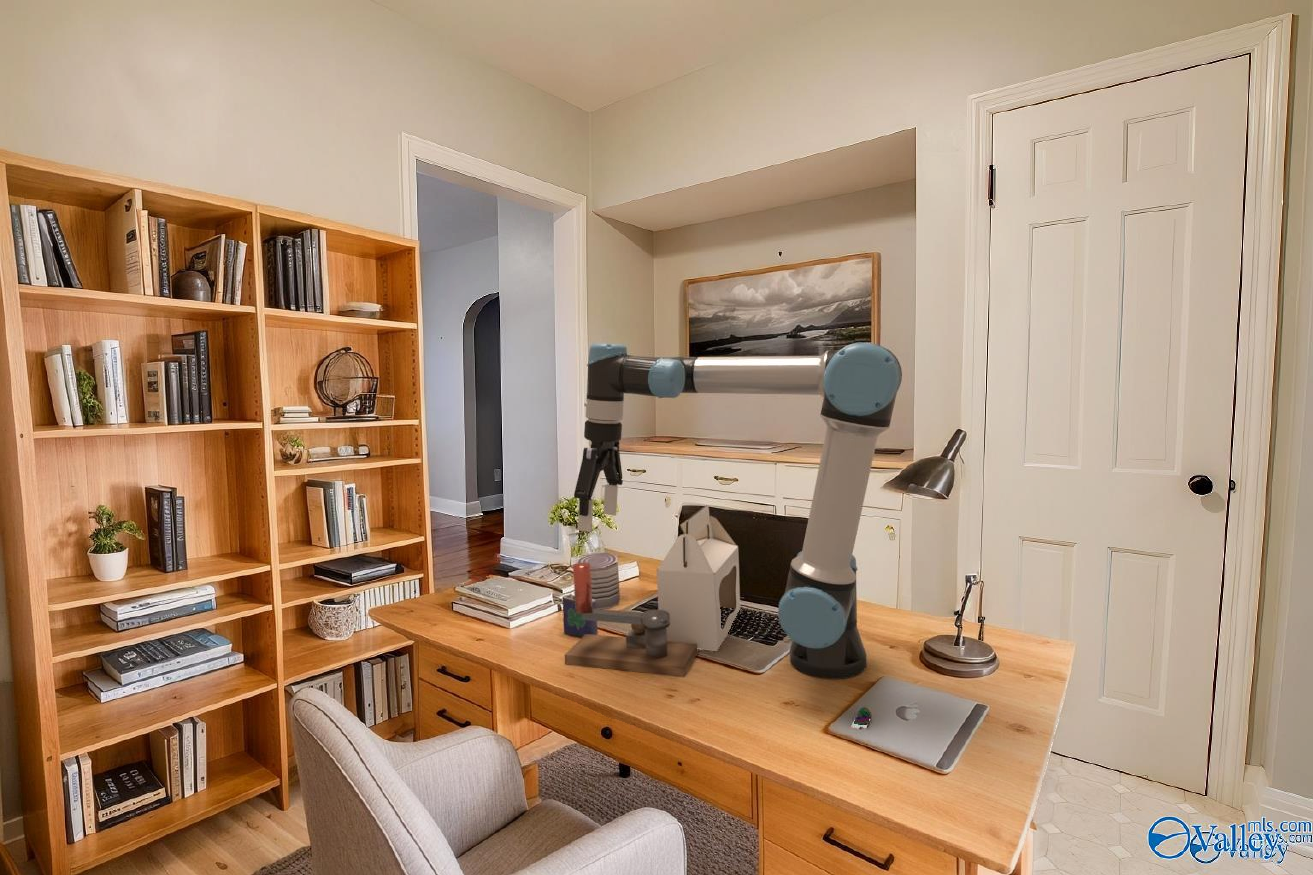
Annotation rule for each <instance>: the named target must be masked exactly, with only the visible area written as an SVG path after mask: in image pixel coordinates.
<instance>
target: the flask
mask: <svg viewBox="0 0 1313 875" xmlns="http://www.w3.org/2000/svg"><path fill="white" fill-rule="evenodd" d="M561 600H562V614H563V621H562V623H563V634H564V635H566V636H569V637H572V638H578V639H581V638H582V637H583V636H584V635H585V634H591V635H599V631H598V621H591V620H582V614H581V613H577V612H576V608H575V591H573V594H572V593H569V594H565V595H563V596H562V599H561ZM592 609H596V600H595V599H592Z"/></svg>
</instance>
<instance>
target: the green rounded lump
mask: <svg viewBox="0 0 1313 875" xmlns="http://www.w3.org/2000/svg"><path fill="white" fill-rule="evenodd" d="M870 718H871V719H872V712H871V710H870V709H869V708H867V707H866V706H865V707H863V706H862V707H861V708H860V709H859V710H858V713H857V715H856V717H855V718H854V719H855V721H854V724H858V725H867V724H868V722H869V719H870Z"/></svg>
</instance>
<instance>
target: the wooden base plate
mask: <svg viewBox="0 0 1313 875" xmlns="http://www.w3.org/2000/svg"><path fill="white" fill-rule="evenodd" d="M630 626H631V627H630V628H631V629H630V631H629V632H628V633H626V634H625V637H624V636H614V635H613V636H611V635H599V634H598V635H591V634H585V635H584V636H583V637H582V638H579V640H578V641H577V642H576V643H575V644H574V645H572V647H570V648H569V650H568V651H567V652H565V654H564V664H565V663H568V664H567V665H571V664H574V665H573V666H581V667H589V668H590V667H592V668H600V669H611V670H620V671H629V672H638V673H639V672H640V673H647V674H654V675H655V674H657V675H658V674H659V675H668V676H674V677H685V676H686V674H687V673H688V670H689V669H690V667H691V665H692V663H693V662H694V660H695V658H696V656H697V655H696V654H698V650H697V644H691V643H680V642H669V641H667V632H666V628H665V629H661V630H647V629H644V628H643V627H642V626H641V625H640V624H630Z"/></svg>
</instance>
